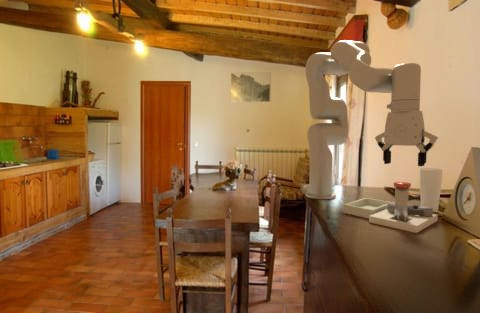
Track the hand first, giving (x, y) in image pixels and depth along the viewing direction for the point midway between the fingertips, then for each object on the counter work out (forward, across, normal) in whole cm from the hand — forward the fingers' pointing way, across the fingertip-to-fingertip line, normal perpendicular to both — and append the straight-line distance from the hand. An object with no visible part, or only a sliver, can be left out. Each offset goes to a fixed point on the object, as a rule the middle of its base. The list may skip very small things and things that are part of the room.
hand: (403, 164), depth 95 cm
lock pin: (+19, 0, 0) cm, 19 cm away
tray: (+18, -14, +8) cm, 25 cm away
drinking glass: (+19, 0, +24) cm, 31 cm away
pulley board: (+19, -2, +5) cm, 19 cm away
